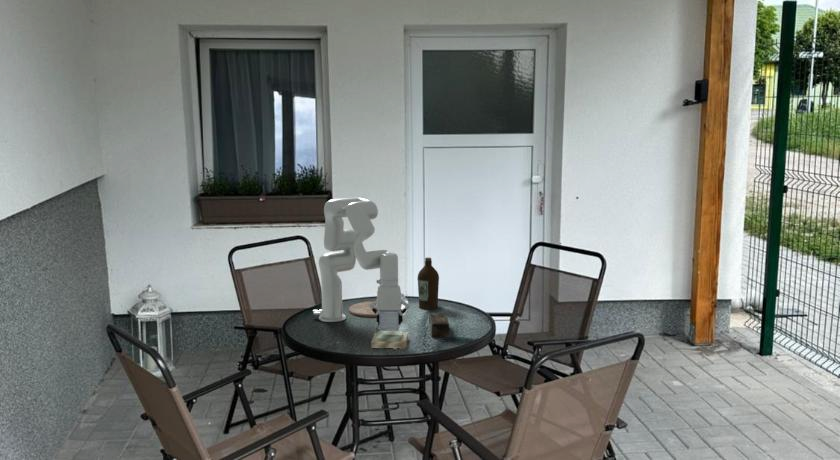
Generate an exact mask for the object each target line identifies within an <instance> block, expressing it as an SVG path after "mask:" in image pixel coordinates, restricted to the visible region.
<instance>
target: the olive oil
mask: <svg viewBox="0 0 840 460" xmlns="http://www.w3.org/2000/svg"><path fill="white" fill-rule="evenodd" d="M432 263H433V261H432V257H425V258H424V266H423V267H422V268H421V269H420V270H419V271H418V274H417V290H418V292H417V293H418V307H419V309H422V310H435V309H437V308H438V305H439V283H440V275H439V272H438V271H437V269H436V268H435V267H434V266H433V264H432Z"/></svg>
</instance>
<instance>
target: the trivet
mask: <svg viewBox="0 0 840 460" xmlns="http://www.w3.org/2000/svg"><path fill="white" fill-rule="evenodd" d="M374 301H375V300H374ZM374 301H364V302H358V303H355V304H351V306H349V308H348V312H349V314H350V315H352V314H353V315H352V316H355V315H356V317H360V318H377V315H376V314H375V313H374V312H373V311H372V309H371V308H370V306H369V305H370V304H371V303H372V302H374ZM374 308H376V306H375V305H374Z"/></svg>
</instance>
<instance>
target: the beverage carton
mask: <svg viewBox="0 0 840 460" xmlns="http://www.w3.org/2000/svg"><path fill="white" fill-rule="evenodd" d="M428 322H429V323H428V326H429V331H430V335H431V338H442V339H443V338H447V337H448V338H449V337H450V323H449V319H448V317H447V314H446V313H436V312H432V313H429V315H428Z"/></svg>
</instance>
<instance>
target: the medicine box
mask: <svg viewBox="0 0 840 460" xmlns="http://www.w3.org/2000/svg"><path fill="white" fill-rule="evenodd" d="M379 316H380V324H379V331H400V326H401V325H399V313H398V311H379Z"/></svg>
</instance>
